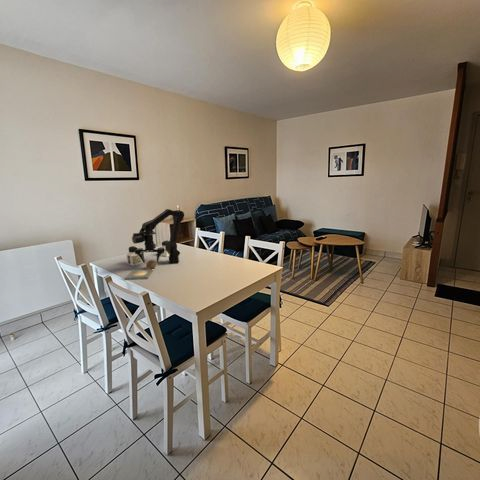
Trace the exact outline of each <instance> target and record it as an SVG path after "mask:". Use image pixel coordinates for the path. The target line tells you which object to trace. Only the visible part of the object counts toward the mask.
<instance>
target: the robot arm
mask: <svg viewBox="0 0 480 480" xmlns="http://www.w3.org/2000/svg"><path fill="white" fill-rule="evenodd" d="M170 216H172V222H173V223H172V226H171V227H172V228H171V231H170V232H171V233H170V237H169V240H168V241H169V242H168V243H167V242H166V246H165V248H166V249H165V250H166V251H167V252H168V254H170V255H169V256H168V262H169V264H170V265H171V264H179V262H180V257H179V256H180V254H181V252H180V251H179V250H178V245H177V240H178V235H179V231H180V225H181V222H183V220H184V217H185V212H184V211H183V210H178V209H176V210H172V209H169V208H168V209H167V208H166V209H165V210H164V211H163V212H161V213H159V214H158V215H157V216H155V217H154V218H153V219H151V220H148V221H145V222H143V223H142V225H141V226H142V227H141V228H140V230H139V232H134V233H132V237H131V241H132V243H133V244H141V243H144V244H143V245H144V248H145V249H144V248H143V247H142V248H141V247H138V249H136V250H135V254H137V255H139V257H140V258H141V259H142V264H146V263H145V260H146V259H145V253H156V263H159V260H160V257H161V256H160V255H161V254H162V253H164V248H160V247H158V248H157V243H155V241H154V235H156V232H155V231H154V230H155V229H156V227H157V225H159V224H160V223H161V222H163V221H164V220H165V219H167V218H168V217H170Z"/></svg>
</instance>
